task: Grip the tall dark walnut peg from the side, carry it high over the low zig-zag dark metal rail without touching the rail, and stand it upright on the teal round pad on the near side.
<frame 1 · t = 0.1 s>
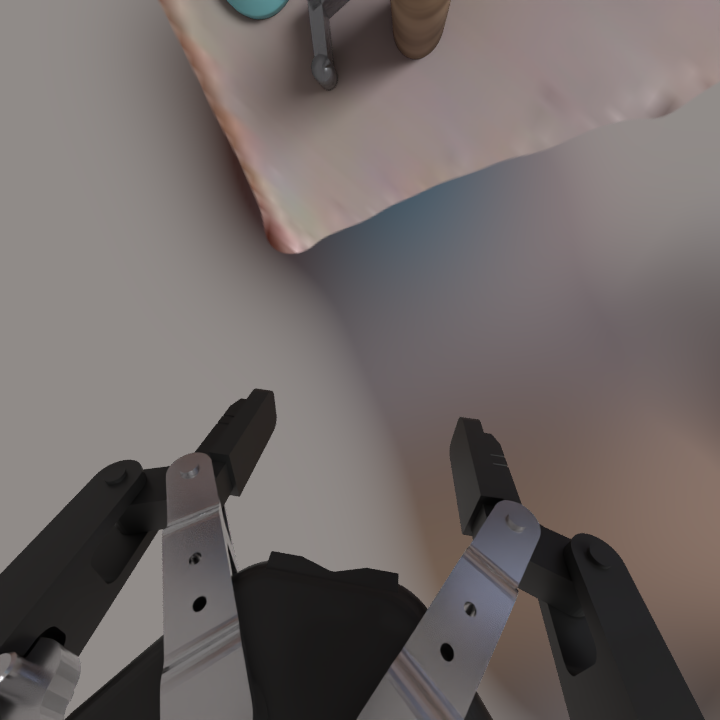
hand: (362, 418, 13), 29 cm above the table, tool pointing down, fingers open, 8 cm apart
walnut peg: (418, 23, 26), on the table
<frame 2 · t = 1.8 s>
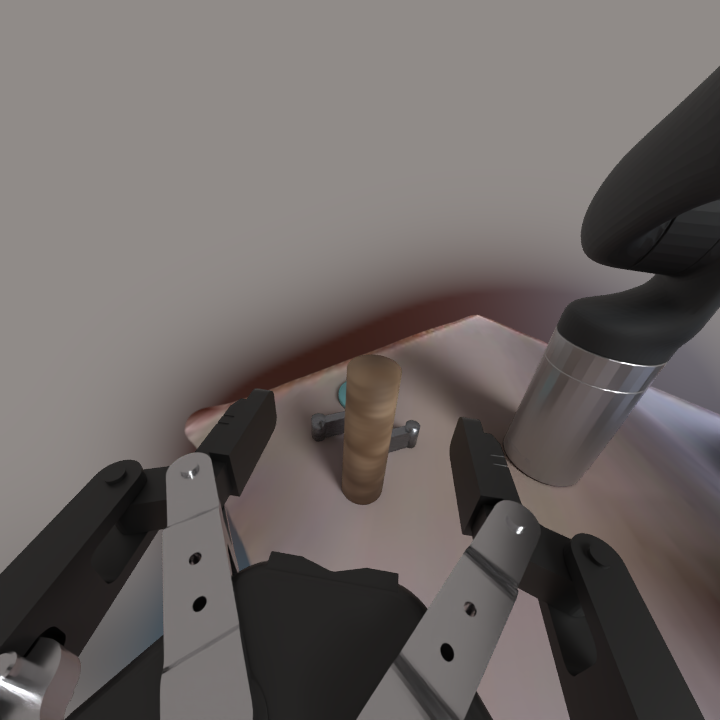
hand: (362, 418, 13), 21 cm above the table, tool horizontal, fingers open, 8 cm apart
teal pad: (365, 397, 46), on the table
walnut peg: (361, 485, 33), on the table
zigzag rail: (363, 439, 39), on the table
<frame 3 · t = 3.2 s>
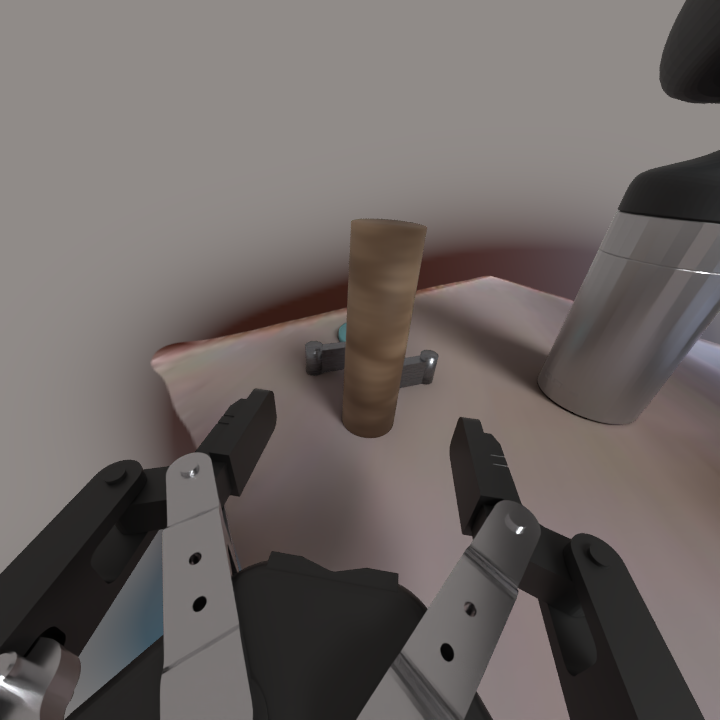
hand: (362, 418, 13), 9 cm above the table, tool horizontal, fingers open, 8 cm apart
walnut peg: (367, 418, 26), on the table
zigzag rail: (369, 375, 32), on the table
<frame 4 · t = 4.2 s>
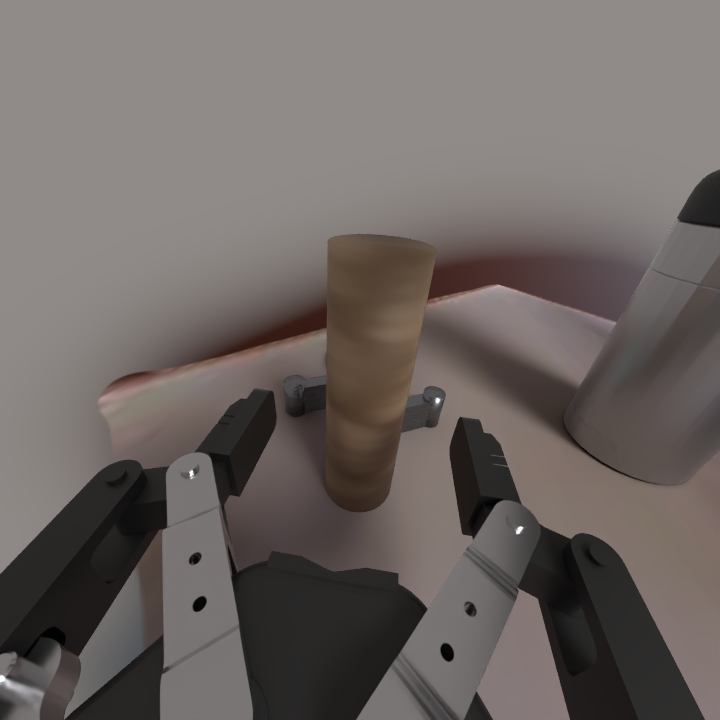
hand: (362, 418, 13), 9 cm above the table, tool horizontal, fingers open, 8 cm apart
walnut peg: (358, 480, 21), on the table
zigzag rail: (362, 415, 27), on the table
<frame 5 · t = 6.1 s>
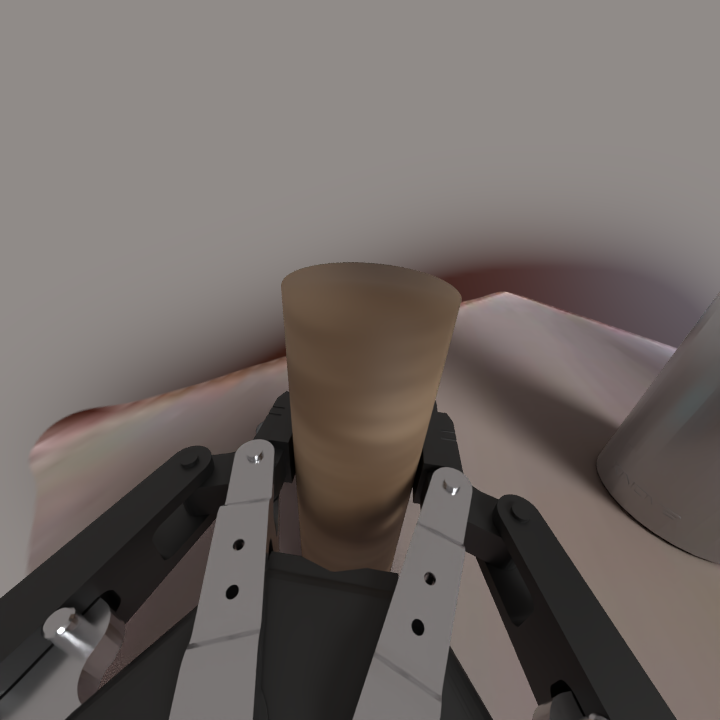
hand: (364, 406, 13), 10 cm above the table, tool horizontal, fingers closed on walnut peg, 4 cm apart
walnut peg: (346, 569, 16), on the table, touching gripper
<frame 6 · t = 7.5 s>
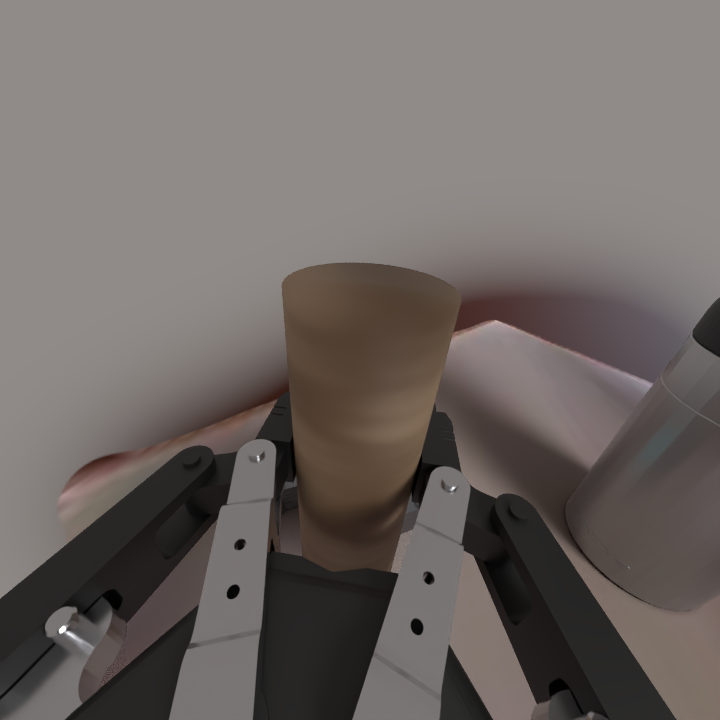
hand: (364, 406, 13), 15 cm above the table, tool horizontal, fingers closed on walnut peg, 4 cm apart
walnut peg: (346, 569, 16), point 5 cm above the table, touching gripper
zigzag rail: (347, 512, 25), on the table
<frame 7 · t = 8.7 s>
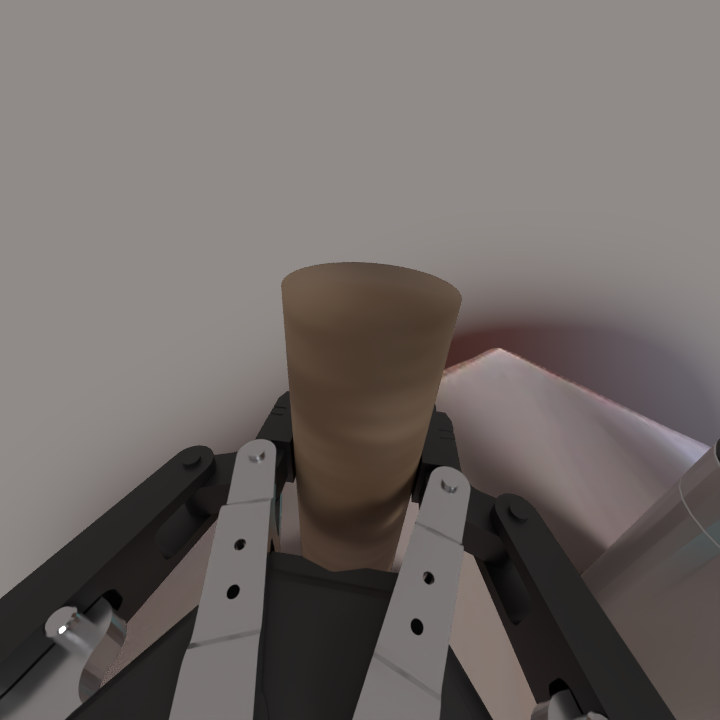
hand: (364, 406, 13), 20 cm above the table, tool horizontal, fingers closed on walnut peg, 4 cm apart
walnut peg: (346, 569, 16), point 10 cm above the table, touching gripper
when the fingers open (12 cm above the table, at t = 12.0 s): walnut peg drops 1 cm, resting on teal pad.
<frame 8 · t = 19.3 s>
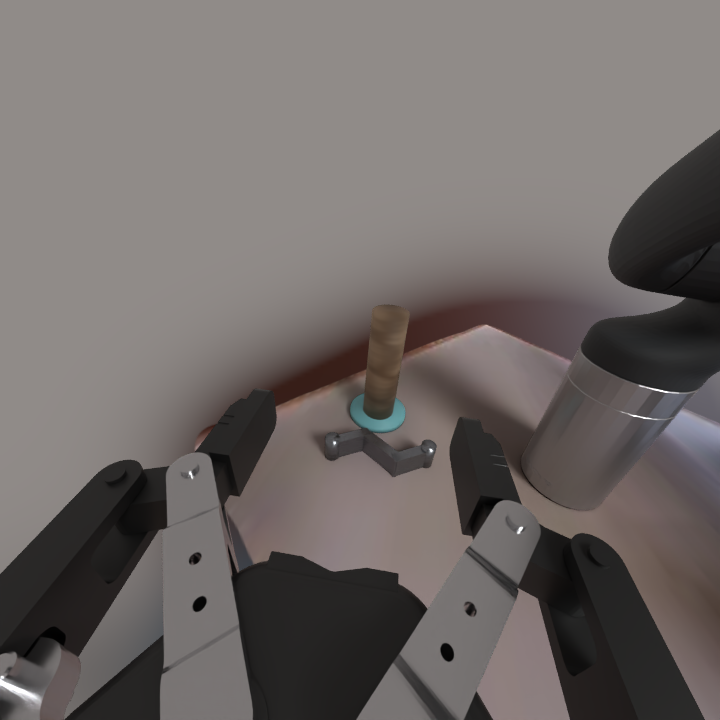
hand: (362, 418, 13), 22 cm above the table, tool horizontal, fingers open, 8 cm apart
teal pad: (377, 412, 46), on the table
walnut peg: (378, 409, 45), point 1 cm above the table, touching teal pad
zigzag rail: (378, 458, 38), on the table
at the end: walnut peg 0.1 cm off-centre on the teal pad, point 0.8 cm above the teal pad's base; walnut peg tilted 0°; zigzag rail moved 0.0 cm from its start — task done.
